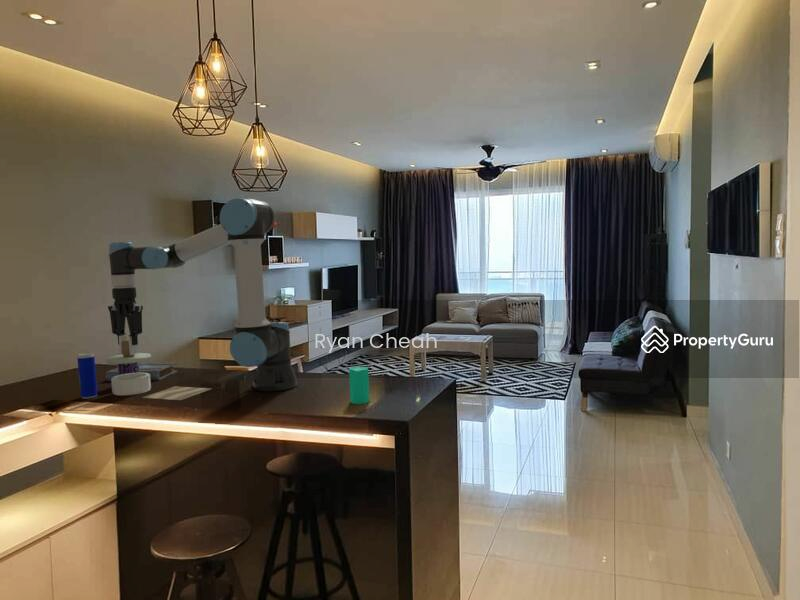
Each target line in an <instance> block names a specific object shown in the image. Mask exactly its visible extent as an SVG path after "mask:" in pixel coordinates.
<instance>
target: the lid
mask: <svg viewBox="0 0 800 600" xmlns="http://www.w3.org/2000/svg"><path fill="white" fill-rule="evenodd" d="M122 347H123V355H118V354H117V355H112V356H109V357H106V363H107V364H111V365H117V364H127V363H136V362H138V363H140V362H141V363H142V362H145V361H148V360H151V359H152V354H151V353H148V352H147V353H146V352H137V354H135V355H130V351H129V339H127V340H126V341H122Z"/></svg>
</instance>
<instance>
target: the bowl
mask: <svg viewBox="0 0 800 600" xmlns="http://www.w3.org/2000/svg"><path fill="white" fill-rule="evenodd" d="M151 381H152V380H150V374H149V373H141V372H140V373H128V374H122V375H118V376H114V377H112V378H111V381H110V382H111V392H112V395H115V396H133V395H139V394H143V393H146V392H149V391H151V388H152V384H151V383H152V382H151Z"/></svg>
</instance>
